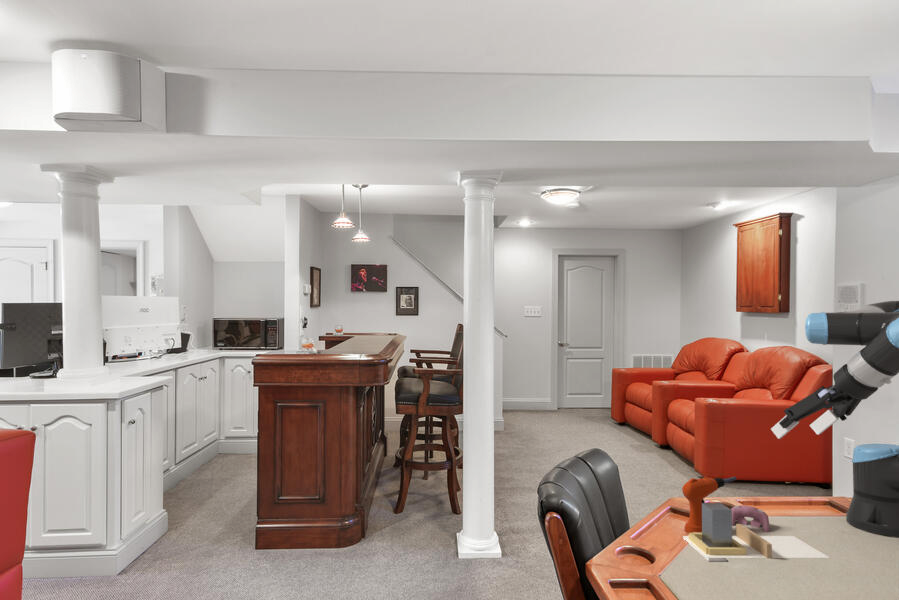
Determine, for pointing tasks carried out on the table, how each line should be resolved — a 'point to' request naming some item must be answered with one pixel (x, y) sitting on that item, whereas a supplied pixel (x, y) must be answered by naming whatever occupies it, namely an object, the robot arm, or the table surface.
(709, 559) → the plate
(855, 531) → the table surface
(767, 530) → the video game controller
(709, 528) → the grey metal block
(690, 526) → the toy drill
